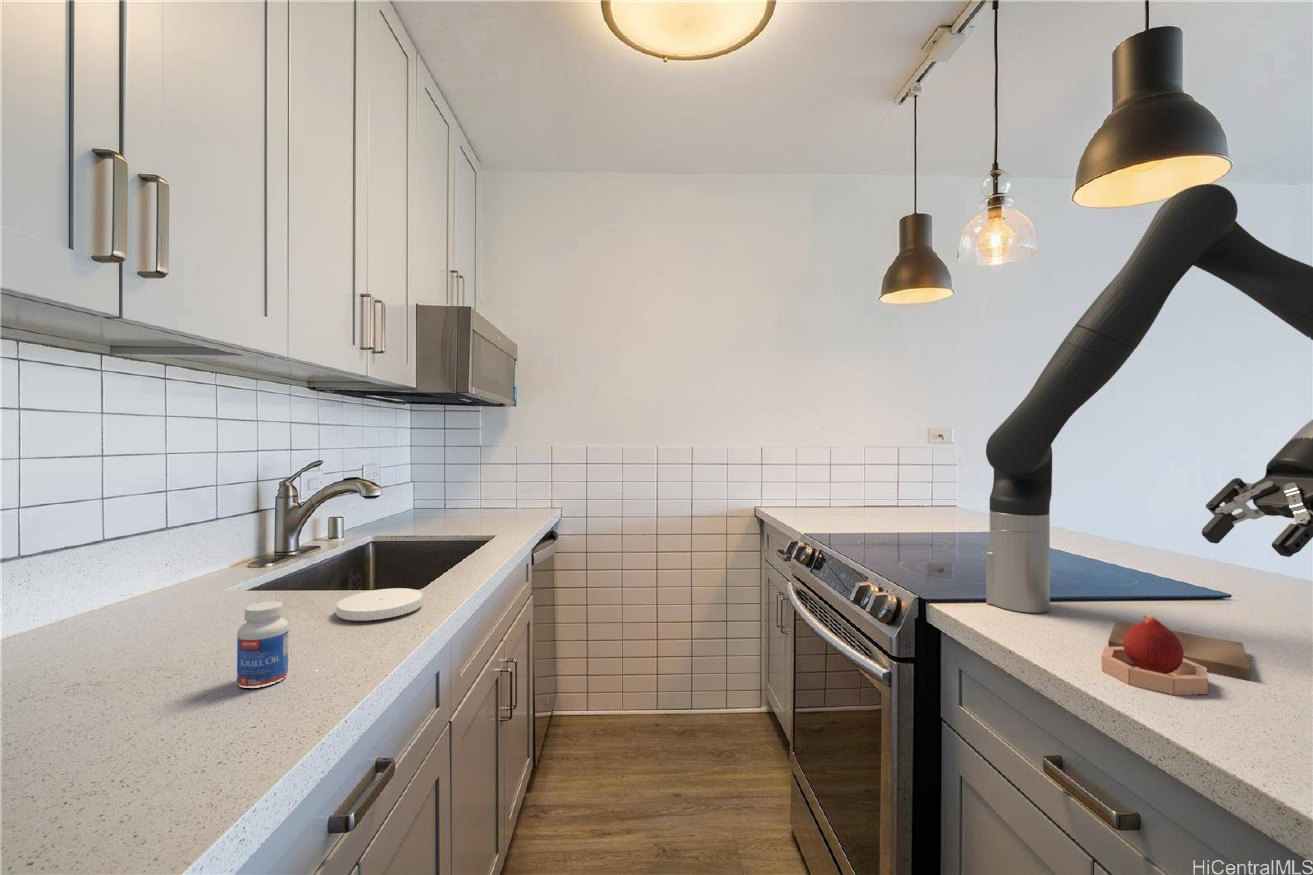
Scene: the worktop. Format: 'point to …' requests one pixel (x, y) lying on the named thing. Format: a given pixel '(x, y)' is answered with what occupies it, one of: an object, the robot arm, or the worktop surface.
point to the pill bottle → (262, 645)
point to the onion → (1153, 646)
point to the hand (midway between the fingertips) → (1242, 545)
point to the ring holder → (1156, 674)
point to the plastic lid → (379, 604)
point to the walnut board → (1200, 651)
